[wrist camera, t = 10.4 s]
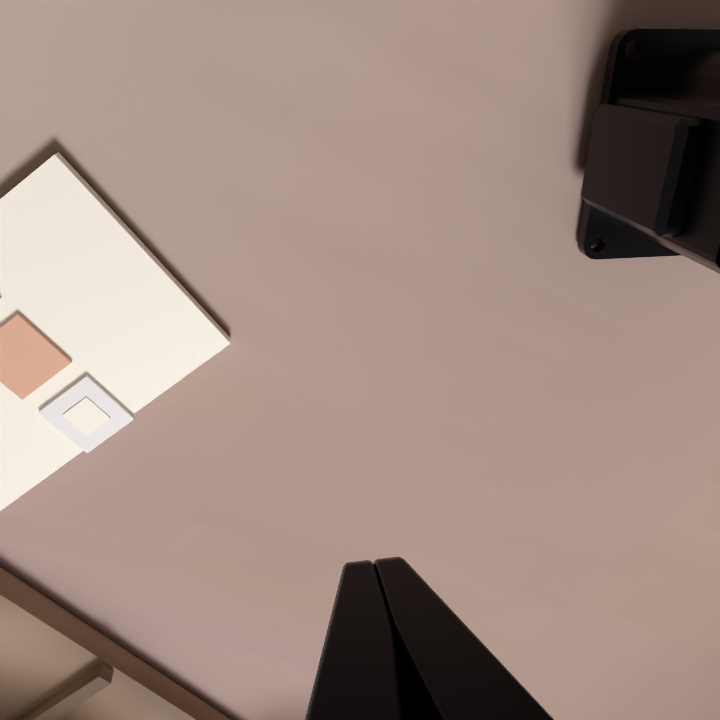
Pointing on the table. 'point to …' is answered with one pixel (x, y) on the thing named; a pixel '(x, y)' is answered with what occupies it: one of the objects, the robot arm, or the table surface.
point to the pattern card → (82, 325)
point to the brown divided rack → (77, 668)
